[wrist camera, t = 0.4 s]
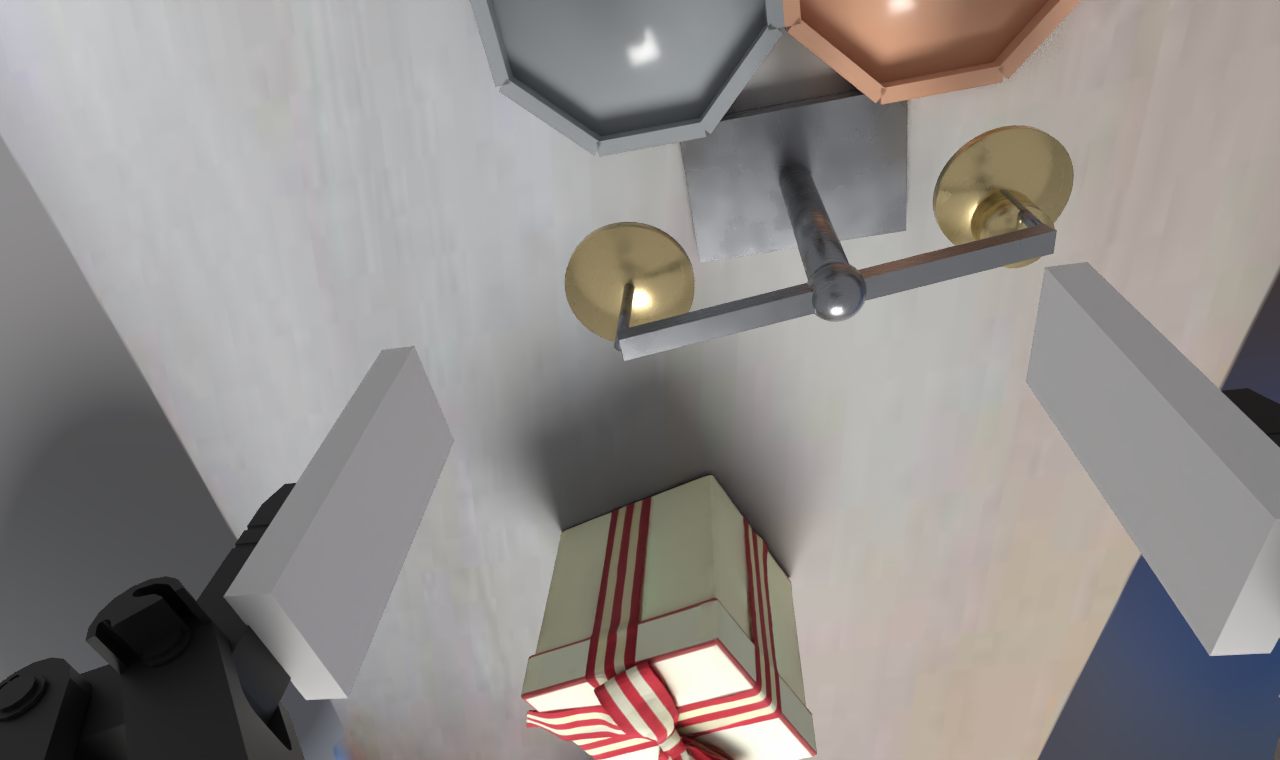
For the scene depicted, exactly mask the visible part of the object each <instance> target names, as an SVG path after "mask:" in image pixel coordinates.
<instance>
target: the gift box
mask: <svg viewBox="0 0 1280 760" xmlns="http://www.w3.org/2000/svg"><path fill="white" fill-rule="evenodd" d="M521 697H522V699H523V700H525V701H526V702H527V703H528V704H529V705H531V706H532V707H533V708H534V709H536V710H529V711H528V713H527V714H526V716H527V717H526V718H527V719H526V720H527V721H526V722H527V724H526V726H527V727H540V728H543V729H545V730H547V731H549V732H551V733H553V734H554V735H556V736H558V737H559V738H561V739H563V740H567V741H573V742H575V743H576V744H577V745H578V746H580V747H581V748H582V749H583V750H584V751H586V752H587V753H588V754H589V755H590V756H592V757H593V758H594V759H595V760H797V759H802V758H807V757H812V756H815V755H816V754H817V749H816V742H815V734H814V726H813V718H812V713H811V712H810V711H809V710H808V709H807V708H806V703H805V694H804V686H803V678H802V670H801V662H800V654H799V646H798V638H797V630H796V622H795V614H794V606H793V598H792V586H791V581H790V580H789V578H788V577H787V576H786V574H785V573H784V571H783V570H782V569H781V567H780V566H779V565H778V564H777V562H776V561H775V560H774V558H773V557H772V556H771V554H770V553H769V551H768V550H767V544H766V543H765V542H764V541H763V540H762V538H760V537H759V536H758V535H757V534H756V533H755V532H754V531H753V530H752V529H751V527H750V525H749V523H748V521H747V520H746V519H745V518H744V516H742V515H741V513H740V512H739V510H738V509H737V508H736V506H735V505H734V504H733V502H732V501H731V499H730V498H729V497H728V495H727V494H726V493H725V491H724V490H723V488H722V487H721V486H720V484H719V483H718V482H717V480H716V479H715V477H714V476H712V475H709V476H705V477H701V478H699V479H696V480H693V481H691V482H688V483H686V484H683V485H681V486H678V487H675V488H673V489H670V490H668V491H665V492H662V493H660V494H657V495H655V496H652V497H649V498H646V499H643V500H641V501H638V502H636V503H633V504H630V505H628V506H625V507H623V508H620V509H618V510H615V511H613V512H611V513H608V514H606V515H603V516H600V517H598V518H595V519H593V520H590V521H588V522H585V523H583V524H580V525H578V526H575V527H573V528H570V529H567V530H565V531H563V532H562V533H561V537H560V542H559V547H558V552H557V556H556V561H555V566H554V570H553V575H552V580H551V584H550V589H549V594H548V598H547V603H546V608H545V612H544V617H543V622H542V627H541V631H540V635H539V640H538V644H537V649H536V654H535V655H532V656H530V657H529V659H528V664H527V668H526V674H525V679H524V683H523V688H522V694H521Z"/></svg>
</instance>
